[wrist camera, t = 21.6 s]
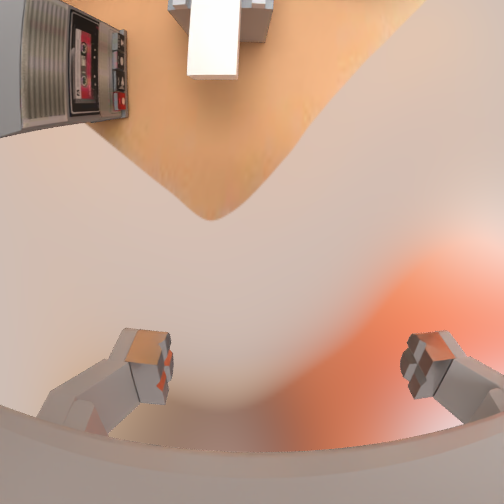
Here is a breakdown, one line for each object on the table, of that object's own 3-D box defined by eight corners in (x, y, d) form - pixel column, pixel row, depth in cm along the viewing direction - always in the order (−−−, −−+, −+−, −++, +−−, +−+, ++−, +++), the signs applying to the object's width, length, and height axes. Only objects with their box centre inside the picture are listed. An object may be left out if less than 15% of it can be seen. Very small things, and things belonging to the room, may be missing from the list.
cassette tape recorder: (130, 116, 43) (29, 129, 20) (94, 122, 42) (-18, 144, 20) (128, 30, 37) (34, -20, 14) (92, 39, 37) (-14, 6, 14)
